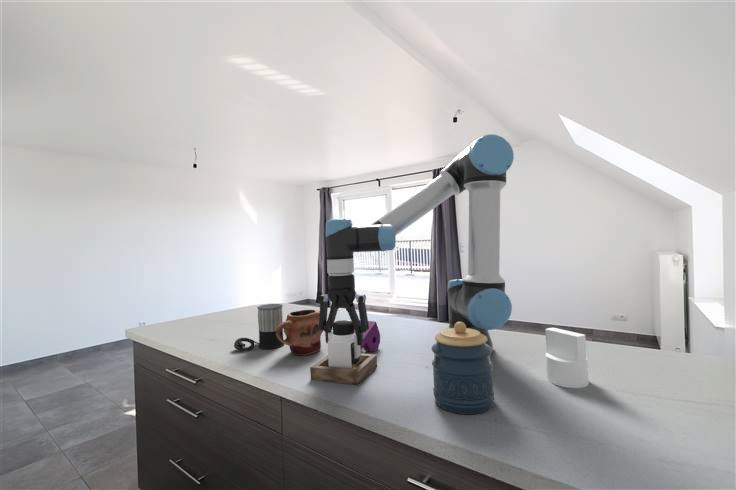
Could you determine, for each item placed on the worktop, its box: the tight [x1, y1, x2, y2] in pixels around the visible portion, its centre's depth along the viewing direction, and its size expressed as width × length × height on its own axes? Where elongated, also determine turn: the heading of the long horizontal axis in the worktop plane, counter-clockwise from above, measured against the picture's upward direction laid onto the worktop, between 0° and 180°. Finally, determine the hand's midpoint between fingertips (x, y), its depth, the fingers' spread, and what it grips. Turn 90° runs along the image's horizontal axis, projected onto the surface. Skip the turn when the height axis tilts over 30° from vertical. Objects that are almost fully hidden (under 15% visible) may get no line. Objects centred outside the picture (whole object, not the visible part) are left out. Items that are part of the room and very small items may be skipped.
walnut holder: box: [309, 353, 378, 386], centre depth 96 cm, size 14×14×3 cm
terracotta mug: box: [276, 309, 324, 356], centre depth 116 cm, size 20×12×14 cm, turn 145°
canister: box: [431, 322, 495, 415], centre depth 76 cm, size 13×13×18 cm
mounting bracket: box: [354, 320, 381, 353], centre depth 114 cm, size 10×8×18 cm
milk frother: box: [233, 303, 285, 352], centre depth 125 cm, size 14×16×15 cm
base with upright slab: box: [544, 327, 589, 389], centre depth 84 cm, size 9×9×12 cm
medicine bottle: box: [327, 319, 361, 369], centre depth 96 cm, size 7×7×12 cm
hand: (344, 355), depth 96 cm, fingers closed on medicine bottle, 7 cm apart
